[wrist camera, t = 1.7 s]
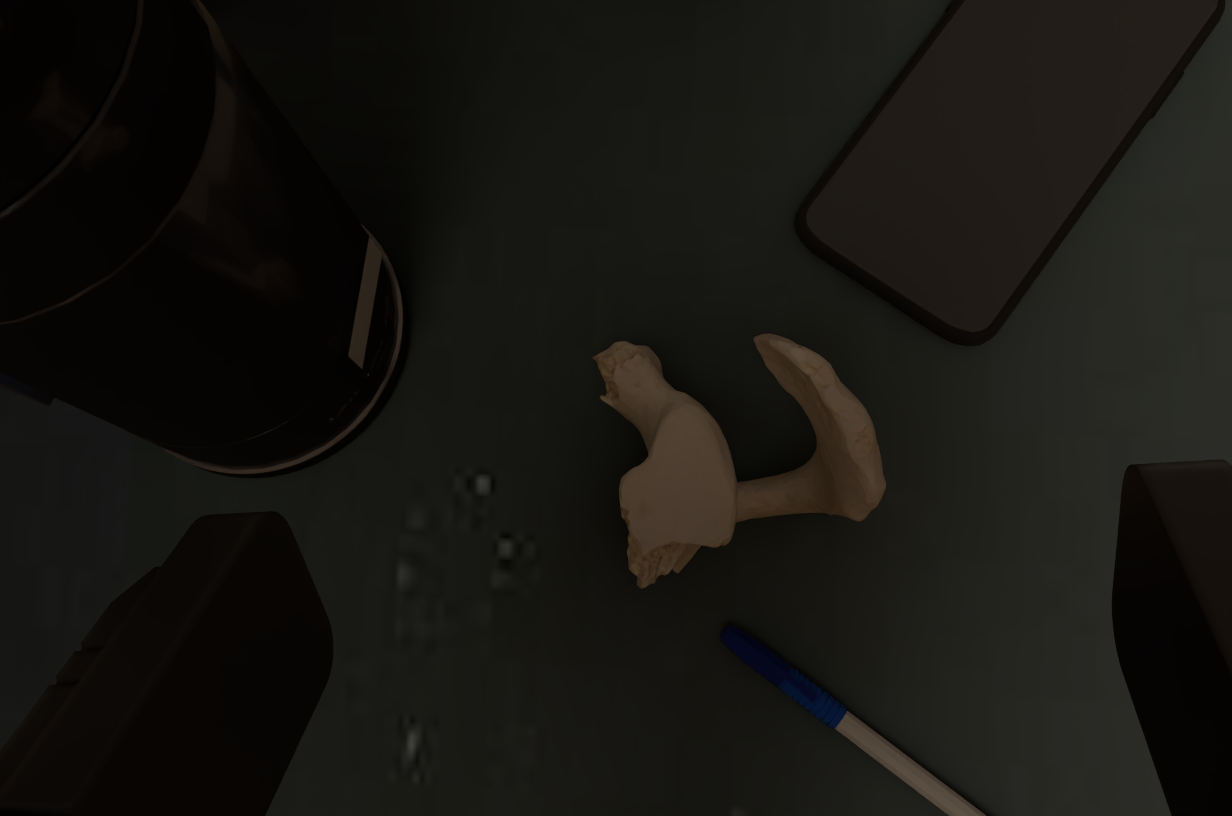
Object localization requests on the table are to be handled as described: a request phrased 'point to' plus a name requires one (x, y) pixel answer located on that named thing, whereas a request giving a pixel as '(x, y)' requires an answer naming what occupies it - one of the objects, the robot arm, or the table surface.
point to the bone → (702, 464)
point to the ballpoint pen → (844, 721)
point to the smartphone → (995, 150)
